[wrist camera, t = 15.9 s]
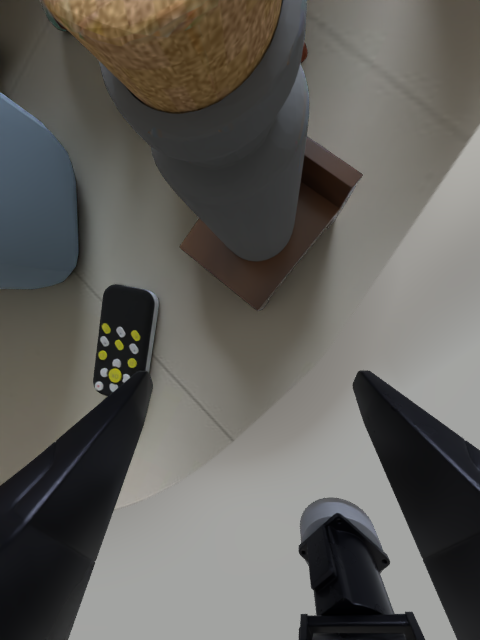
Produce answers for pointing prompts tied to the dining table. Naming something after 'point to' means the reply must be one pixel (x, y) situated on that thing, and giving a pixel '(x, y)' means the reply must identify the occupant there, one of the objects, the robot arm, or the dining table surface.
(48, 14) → the fish
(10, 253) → the tan blue trash bin
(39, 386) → the dining table surface
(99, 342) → the remote control
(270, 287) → the spice shelf
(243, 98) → the bottle
